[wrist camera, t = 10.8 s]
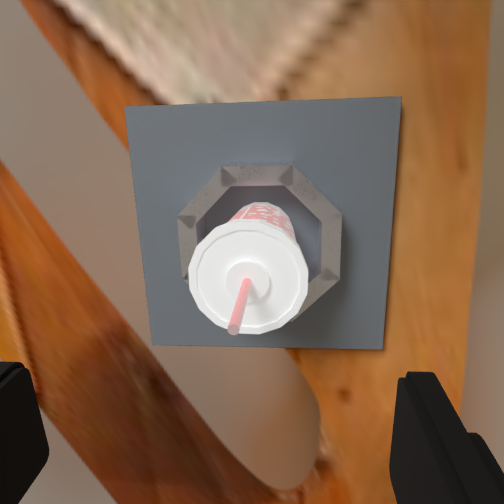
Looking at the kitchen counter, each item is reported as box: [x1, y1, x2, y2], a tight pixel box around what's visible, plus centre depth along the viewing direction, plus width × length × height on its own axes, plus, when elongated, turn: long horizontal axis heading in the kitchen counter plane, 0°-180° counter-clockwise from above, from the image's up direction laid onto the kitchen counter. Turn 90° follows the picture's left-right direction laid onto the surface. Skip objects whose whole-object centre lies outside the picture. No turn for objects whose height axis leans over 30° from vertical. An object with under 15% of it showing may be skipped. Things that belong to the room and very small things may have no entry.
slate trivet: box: [124, 97, 402, 350], centre depth 29 cm, size 18×18×1 cm
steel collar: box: [176, 160, 342, 322], centre depth 27 cm, size 10×10×3 cm
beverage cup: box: [188, 202, 308, 335], centre depth 22 cm, size 6×6×14 cm
